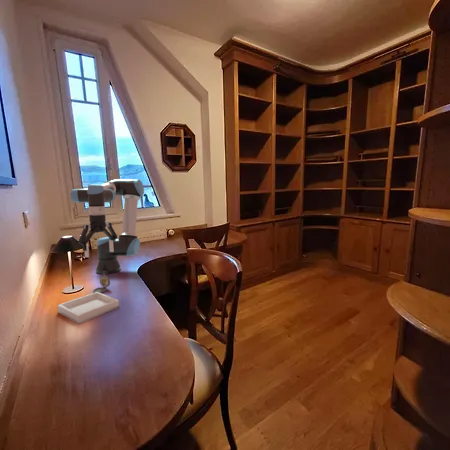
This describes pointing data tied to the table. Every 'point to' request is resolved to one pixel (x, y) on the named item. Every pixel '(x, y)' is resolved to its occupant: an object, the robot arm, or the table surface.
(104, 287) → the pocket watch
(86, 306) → the tray
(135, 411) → the table surface
